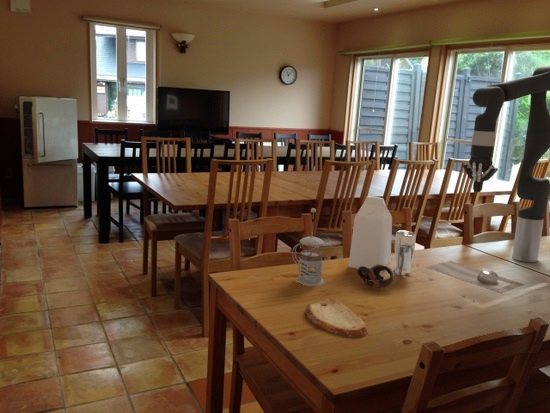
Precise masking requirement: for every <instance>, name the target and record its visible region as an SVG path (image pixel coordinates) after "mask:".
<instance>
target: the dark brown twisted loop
mask: <svg viewBox="0 0 550 413" xmlns="http://www.w3.org/2000/svg"><path fill="white" fill-rule="evenodd" d="M384 269H385V270H384ZM383 270H384V271H386V272H387V274H389V278H387V279H385V278H384V276H382V275H381V273H382V272H384V271H383ZM381 271H382V272H381ZM356 272H357V275H358V276H359V277H360V279H362V281H363V283H366V282H367V283H369V282H370V281H372V283H373V285H372V287H371V289H372V290H374V291H378V290H379V289H383V288H388V287H390V286H391V285H392V283H393V281H394V272H393V270H392V269H390V268H389V267H388V266H387V265H386V266H384V265H374V266H373V267H372V268H366V267H364V266H361V267H359V268H358V269H357V270H356ZM380 272H381V273H380ZM379 273H380V274H379Z"/></svg>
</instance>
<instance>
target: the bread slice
mask: <svg viewBox="0 0 550 413" xmlns="http://www.w3.org/2000/svg"><path fill="white" fill-rule="evenodd" d="M305 315H306V317H307V318H308V319H309V321H311V322H312V323H313V324H314V325H315V326H317V327H320V328H322V329H324V331H325V330H326V331H328V332H329V333H334V334H336V335H340V336H344V337H350V338H351V337H354V338H361V337H366V336H368V334H369V332H368V328H367V325H366V323H365V322H364V321H363V319H362V318H361V317H359V315H358V314H356V312H354V311H353V310H352V309H350V308H348V307H347V306H346V305H344V304H343V303H341V302H340V301H338V300H336V299H335V298H333V299H331V298H327V299H322V300H319V301H317V302H314V303H309V304H307V306H306V308H305Z"/></svg>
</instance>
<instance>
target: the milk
mask: <svg viewBox="0 0 550 413" xmlns="http://www.w3.org/2000/svg"><path fill="white" fill-rule="evenodd" d="M385 202H386V201H385V199H384V197H376V196H369V195H368V196H366V197H365V199H364V201H363V204H362V205H361V207H360V209H358V211H357V213H356V215H355V217H354V220H353V226H352V233H351V234H352V235H351V243H350V251H349V261H348V267H349V268H352V269H357V270H358V268H359V267H361V266H364V267H366V268H372V267H373V266H374V265H384V266H386V267H387V266H389V265H391V260H392V257H391V256H392V235H393V234H392V231H393V229H392V228H393V216H392V214H391V213H390V210H389V209H388V207H387V206H386V205H387V204H386V203H385ZM384 271H386V270H385V269H384V270H383V271H381V272H380V273H379V275H381V273H382V272H384Z"/></svg>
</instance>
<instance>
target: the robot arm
mask: <svg viewBox="0 0 550 413" xmlns="http://www.w3.org/2000/svg"><path fill="white" fill-rule="evenodd" d="M548 92H550V65H542V66H537V67H536V68H535V70H534V71H533V73H532V75H531V76H527V77H526V76H525V77H520V78H519V77H518V78H513V79H510V80H507V81H504V82H501V83H497V84H490V85H484V86H481V87H479V88H477V89H476V90H475V91H474V93H473V95H472V101H473V103H474V105H476V107H479V108H485V110H484V111H483V112H484V113H480V114H477V115H476V117H475V120H474V127H473V133H472V136H471V137H472V138H471V146H470V158H469V160H468V162H467V163H465V164H463V165H462V167H463V170H464V171H465V173H466V175H467V176H468V179H470V180H472V181H473V183H472V184H473V185H472V190H473V192H475V193H481V191H482V190H483V185H484V182H487V181H489V180H490V179H491V178H492V177H493V176H494V175H495V174H496V173H497V171H499V169H498V167H495V166H494V165H493V158H494V148H495V142H496V129H497V128H496V126H497V120H498V118H499V116H500V112H501V111H502V108H503V106H504V103H506V102H510V101H515V100H517V99H520V98H521V99H522V98H523V97H527V96H530V100H529V101H530V104H529V114H528V115H529V116H528V122H527V128H526V134H525V140H524V141H525V142H524V143H525V144H524V150H523V158H522V164H521V166H520V172H519V175H518V180H517V186H516V195H517V197H518V198H519V199H521V200H527V201H532V202H533V204H532V206H529V207H524V208H520V209H519V210H518V212H517V218H516V219H517V220H516V225H515V234H514V241H513V247H512V253H511V254H512V255H511V258H512V259H513V260H516V261H520V262H524V263H537V262H538V260H539V254H540V248H541V247H540V246H541V242H542V240H541V239H542V234H543V228H544V220H545V214H546V212H547V206H548V202H549V199H550V180H549V179H547V178H542V177H536V176H533V173H534V170H535V167H536V165H537V163H538V162H539V161H540V160H541V159H542V157H543V156H544V155H545V154H546V153H547V152H548V150H550V112H549V109H548V106H547V93H548Z"/></svg>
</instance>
